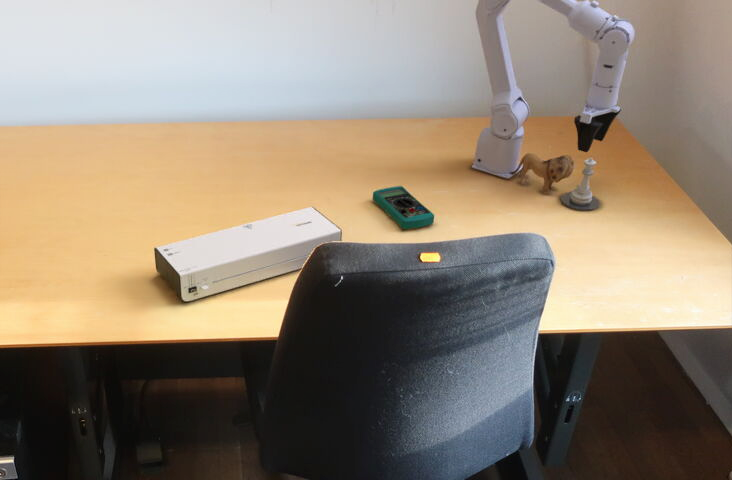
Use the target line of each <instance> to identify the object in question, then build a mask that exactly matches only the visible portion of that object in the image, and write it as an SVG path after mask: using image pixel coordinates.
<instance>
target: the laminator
mask: <svg viewBox="0 0 732 480" xmlns="http://www.w3.org/2000/svg"><path fill="white" fill-rule="evenodd" d="M342 237H343V230H342V228H340V227H339V226H337V224H335V223H334V222H333V221H332V220H330V219H329V218H328V217H326V216H325V215H324V214H323V213H321V212H320V211H319V210H317V209H316V208H315V207H314V206H308V207H304V208H301V209H297V210H294V211H290V212H285V213H282V214H279V215H274V216H270V217H266V218H263V219H259V220H255V221H251V222H247V223H244V224H240V225H236V226H233V227H228V228H225V229H220V230H217V231H213V232H209V233H206V234H202V235H197V236H194V237H191V238H186V239H182V240H179V241H175V242H171V243H168V244H163V245H159V246H155V247H154V248H153V250H154V251H153V252H154V253H153V254H154V263H155V270H156V272H157V274H159V275H160V276H161V278H163V280H164V281H165V282H166V283H167V284H168V285H169V286H170V288H171V289H172V290H173V292H174V293H176V295H177V296H178V297H179V298H180V300H181V302H183V303H191V302H194V301H198V300H201V299H206V298H209V297H211V296H216V295H219V294H222V293H225V292H229V291H232V290H236V289H239V288H241V287H246V286H248V285H253V284H256V283H260V282H263V281H266V280H267V281H268V280H270V279H273V278H276V277H280V276H283V275H287V274H291V273H294V272H297V271H301V270H302V269H301V268H302V266H303V264H304V263H305V261H306V260H307V258H308V257H309V255H310V254H311V252H312V251H313V250H314V248H316V247H317V246H318V245H320V244H322V243H325V242H332V241H341V242H342Z"/></svg>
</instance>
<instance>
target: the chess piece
mask: <svg viewBox="0 0 732 480" xmlns="http://www.w3.org/2000/svg"><path fill="white" fill-rule="evenodd" d="M583 162H584V164H585V167H584V168H583V169H582V170H581V174H582V175H583V177H582V179H581V181H580V184H578V185H577V186H576V188H575V189H573V190H572V191H571V193H572V194H571V197H570V199H571V201H572V202H574V203H576V204H579V205H587V204H589V203H590V202H591V201H592V196H593V193H592V191H591V187H590V179H591V176H593V175H594V172H595V171H594V170H593V168H594V167H595V166H596V165H597V161H596V160H594V159H593V157H590V158H587V159H585V160H584V161H583Z"/></svg>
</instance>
